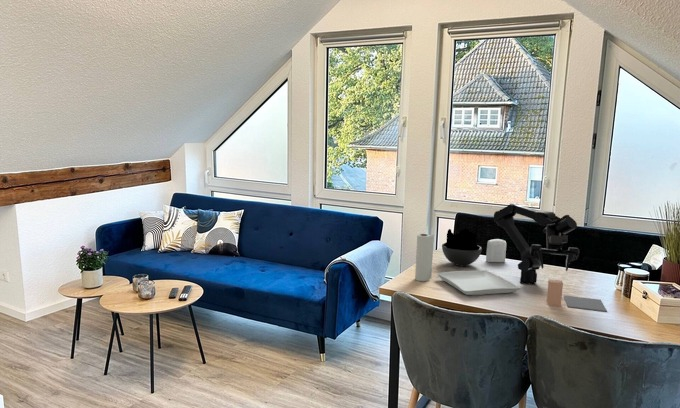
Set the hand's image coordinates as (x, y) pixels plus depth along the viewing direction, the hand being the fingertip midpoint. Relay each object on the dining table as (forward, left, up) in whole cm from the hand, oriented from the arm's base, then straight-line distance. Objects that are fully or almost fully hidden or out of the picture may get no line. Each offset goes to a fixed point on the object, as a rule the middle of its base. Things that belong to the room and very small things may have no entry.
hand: (554, 269), depth 200 cm
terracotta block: (0, -6, -13) cm, 14 cm away
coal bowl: (-41, +39, -13) cm, 58 cm away
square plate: (-31, +5, -13) cm, 34 cm away
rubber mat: (+12, -1, -13) cm, 18 cm away
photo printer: (-24, +54, -13) cm, 60 cm away
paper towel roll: (-55, +5, -13) cm, 57 cm away
